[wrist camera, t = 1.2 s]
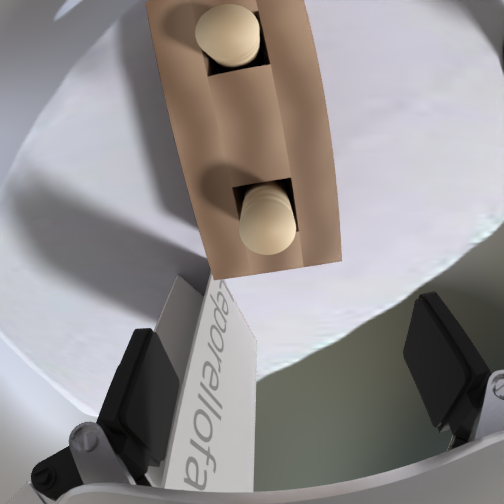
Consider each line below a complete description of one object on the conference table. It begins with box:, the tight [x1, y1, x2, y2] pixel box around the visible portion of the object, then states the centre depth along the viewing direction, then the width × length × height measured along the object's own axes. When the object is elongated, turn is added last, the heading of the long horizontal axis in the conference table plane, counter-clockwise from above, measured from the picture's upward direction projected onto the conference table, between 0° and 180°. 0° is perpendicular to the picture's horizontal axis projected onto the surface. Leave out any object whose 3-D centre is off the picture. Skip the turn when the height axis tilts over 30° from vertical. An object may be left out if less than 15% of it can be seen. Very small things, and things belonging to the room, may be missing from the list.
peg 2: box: [239, 180, 296, 255], centre depth 24 cm, size 4×4×8 cm
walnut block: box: [146, 0, 342, 280], centre depth 25 cm, size 12×26×8 cm, turn 11°
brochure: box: [147, 272, 257, 492], centre depth 27 cm, size 14×6×30 cm, turn 21°
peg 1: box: [195, 4, 260, 71], centre depth 18 cm, size 4×4×8 cm
